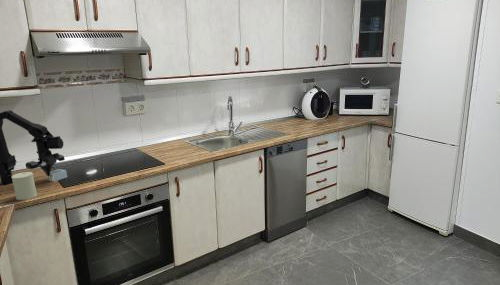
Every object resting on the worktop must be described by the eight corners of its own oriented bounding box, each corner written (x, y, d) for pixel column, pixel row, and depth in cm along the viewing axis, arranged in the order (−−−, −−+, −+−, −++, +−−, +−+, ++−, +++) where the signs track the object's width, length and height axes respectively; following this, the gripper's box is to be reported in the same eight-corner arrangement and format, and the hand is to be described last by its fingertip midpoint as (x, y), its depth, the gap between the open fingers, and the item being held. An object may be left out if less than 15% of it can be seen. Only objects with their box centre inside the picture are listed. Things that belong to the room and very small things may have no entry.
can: (40, 192, 187) (35, 170, 184) (32, 199, 178) (27, 176, 175) (21, 193, 186) (16, 171, 183) (12, 201, 177) (7, 177, 174)
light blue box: (45, 173, 204) (58, 168, 211) (46, 179, 205) (60, 175, 212) (52, 174, 201) (66, 170, 208) (54, 181, 202) (67, 177, 209)
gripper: (33, 155, 186) (38, 183, 190) (67, 146, 201) (72, 173, 205) (22, 152, 192) (28, 180, 196) (56, 144, 207) (61, 170, 211)
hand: (48, 176), depth 202 cm, fingers closed
